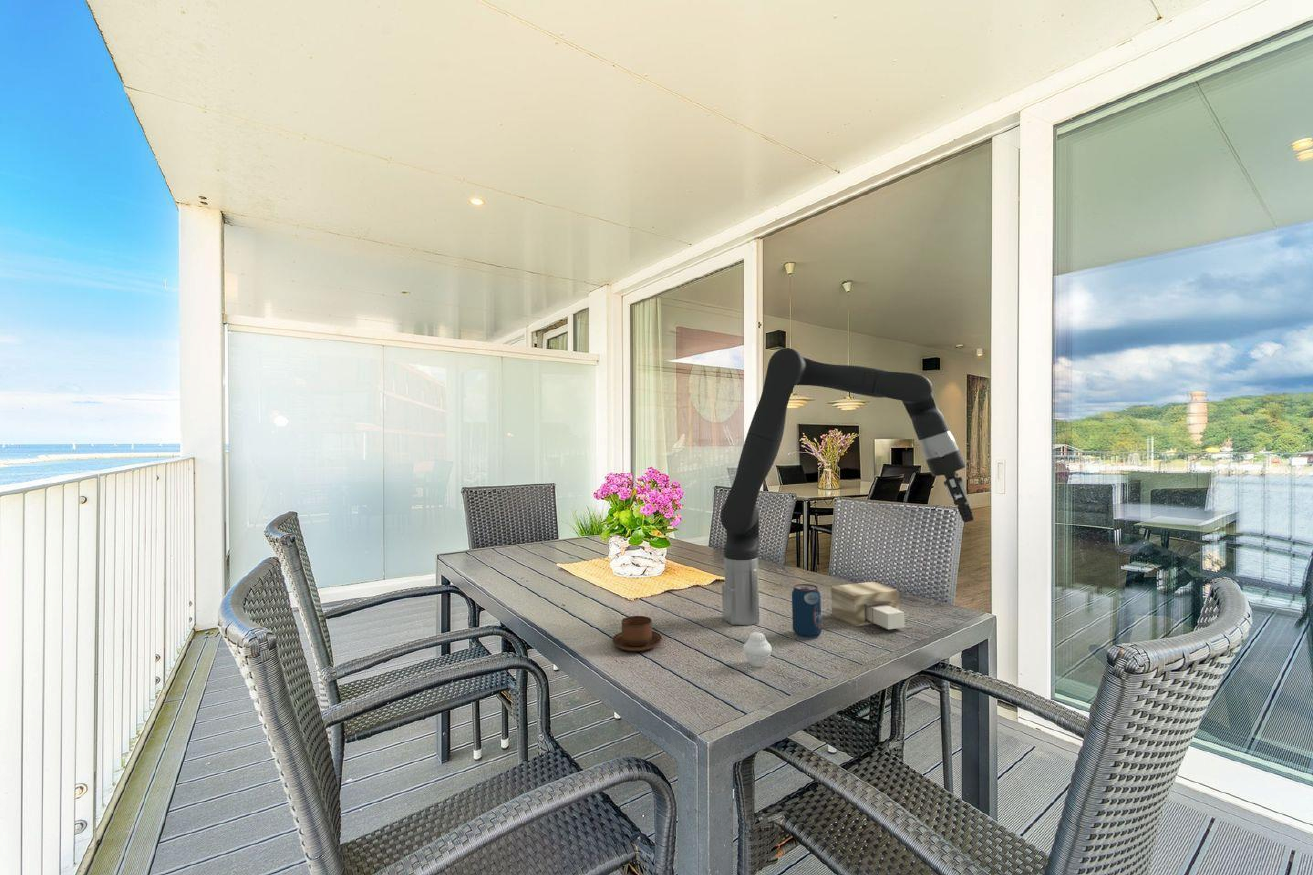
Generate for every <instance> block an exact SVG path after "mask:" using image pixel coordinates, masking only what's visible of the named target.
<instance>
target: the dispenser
mask: <svg viewBox="0 0 1313 875" xmlns="http://www.w3.org/2000/svg"><path fill="white" fill-rule="evenodd" d="M830 588H831V589H830V595H831V596H830V597H831V599H830V600H831V616H833V617H835V618H837V619H839V620H841V621H843V622H845V623H848V624H850V625H851V626H853V627H862V626H868V625H869V626H870V625H874V624H875V623H872V622H871V621H869V620H866V619H865V611H864V606H866V607H869V606H876V605H884V604H885V605H888V606H890V607H893V608H895V609H898V610H900V594H899V589H896V588H893V587H890V586H886V585H885V584H882V583H878V582H875V581H866V582H859V583H849V584H840V585H832V586H830ZM875 625H876V624H875Z"/></svg>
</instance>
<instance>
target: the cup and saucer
mask: <svg viewBox="0 0 1313 875" xmlns="http://www.w3.org/2000/svg"><path fill="white" fill-rule="evenodd" d="M652 622H653V620H652V618H650V617H649V616H645V615H633V616H628V617H627V616H626V617H624V618H622V620H621V632H619V633H616V634H615V635H614V636H613V637H612V639H611V641H612V644H613V645H614V646H615V647H616V648H618V649H620V650H623V651H627V652H644V651H648V650H652V649H653V648H656V647H657V646H658V645H660V643H661V642H662V638H663V637H662V635H661V634H659V632H656V631H653V625H652V624H653V623H652Z"/></svg>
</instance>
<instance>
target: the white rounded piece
mask: <svg viewBox="0 0 1313 875" xmlns="http://www.w3.org/2000/svg"><path fill="white" fill-rule="evenodd" d="M742 649H743V651H744V655H745V657H746V659H747V660H748V662H749V664H750V665H751V666H752V667H755V668H763V667H765V666H766V665H767V662H768V661H769V659H770V657H771V653H772V650H773V648H772V645H771V644H770V642H769V641H768V640H767V639H766V636H765V634H763V633H761V632H752V633H750V635H749V636H748V639H747V640H746V642H744V644H743V648H742Z"/></svg>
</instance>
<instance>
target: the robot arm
mask: <svg viewBox="0 0 1313 875" xmlns="http://www.w3.org/2000/svg"><path fill="white" fill-rule="evenodd" d="M795 386H810V387H811V386H812V387H822V388H828V389H833V390H837V391H841V392H846V393H851V394H856V395H861V396H867V397H872V398H877V399H878V398H882V399H883V398H887V399H890V400H891V399H892V400H897V401H901V402H902V404H903V405H904V408H905V410H906V412H907V414H908V416H909V418H910V419H911V424H912V426H913V430H914V432H915V434H916V437H917V438H918V442H919V444H920V448H921V452H922V455H923V457H924V459H925V462H926V465H927V467H928V470H929V472H930V475H931V476H932V477H939V476H944V478H945V481H943V485H944V487H945V490H947V492H948V495H949V498H950V499H951V500H953V504H954V505H955V506H956V508H957V510H958V513H959V515H960V517H961V519H962V521H963V523H969V522H972V521H974V516H973V512H972V508H971V506H970V504H969V501H968V500H967V499H968V494H967V490H966V488H965V483H964V480H963V478H962V476H959V475H958V474H959V473H957V471H960V470H963V469H964V468H965V467H966V463H965V460H964V458H963V456H962V453H961V452H960V449H959V448H960V447H959V446H958V444H957V442H956V439H955V437H954V436H953V434H952V433H951V430H950V428H949V426H948V423H947V421H946V418H945V417H944V414H943V413H942V412H941V410H939V407H938V405H937V403H936V401H935V398H934V396H933V384H932V382H931V381H930V379H929V378H927V376H924V375H922V374H918V373H913V372H912V373H911V372H904V371H903V372H901V371H888V370H884V369H879V368H874V367H867V366H860V365H852V364H851V365H848V364H847V365H845V364H832V363H831V364H830V363H824V362H820V361H816V360H814V359H813V360H812V359H810V358H806V357H804V356H802V355H801V354H800V352H798V351H797V350H795V349H793V348H790V347H783V348H781V349H778V350H777V351H775V352H774V353H773V354H772V355H771V357H770V359H769V361H768V363H767V369H766V374H765V377H764V383H763V388H762V390H761V391H762V392H761V394H760V395H761V396H760V399H759V400H758V404H757V406H756V409H755V411H754V414H753V416H752V419H751V421H750V425H749V428H748V431H747V433H746V437H745V440H744V443H743V446H742V450H741V453H740V457H739V461H738V465H737V468H736V472H735V473H736V474H735V477H734V480H733V482H732V484H731V488H730V490H729V492H728V495H727V497H726V499H725V501H724V504H723V506H722V508H721V511H720V515H719V516H720V521H721V525H722V527H723V528H724V530H725V531H726V538H725V539H726V540H725V543H724V547H723V559H724V560H723V562H724V563H723V564H724V565H723V566H724V571H723V572H724V583H722V584H721V599H722V600H721V601H722V604H721V605H722V607H721V608H722V619H723V620H725V621H726V622H728V623H729V624H730V625H732V626H733V625H741V626H749V625H755V624H757V623H759V622H760V620H761V619H760V615H761V614H760V591H759V589H760V587H759V545H760V516H759V515H760V514H759V510H758V507H757V501H758V497H759V494H760V491H761V488H762V486H763V485H764V484H763V483H765V482H764V481H765V480H766V478H767V477H768V475H769V473H770V471H771V469H772V466H773V465H774V464H775V460H776V459H777V456H778V453H779V450H780V447H781V443H782V441H783V436H784V431H785V426H786V425H785V424H786V417H787V411H788V405H789V402H790V399H791V396H792V395H793V394H792V393H793V391H794V388H795Z"/></svg>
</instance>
